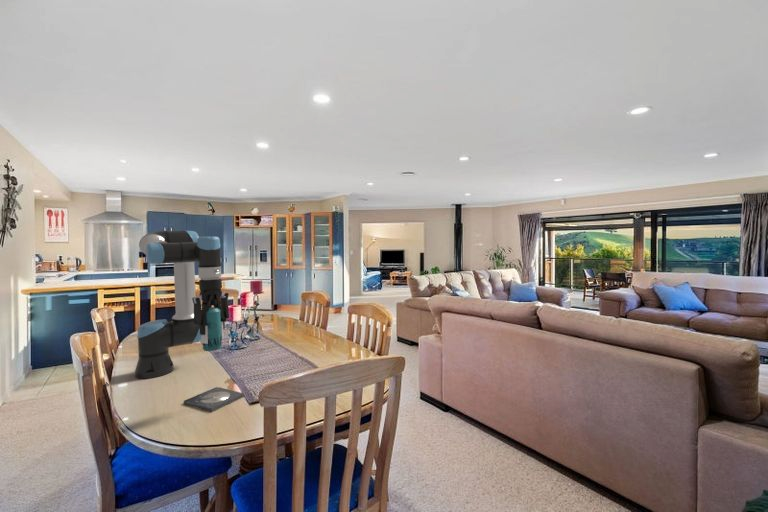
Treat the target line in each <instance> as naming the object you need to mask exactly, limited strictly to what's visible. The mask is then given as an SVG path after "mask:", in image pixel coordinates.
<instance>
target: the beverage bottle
mask: <svg viewBox="0 0 768 512" xmlns="http://www.w3.org/2000/svg"><path fill="white" fill-rule="evenodd" d="M205 305H207V304H205ZM214 305H217V300H216V299H212V300H211V306H210V307H209V310H208V311H207V313H206V314H207V321H206V325H205V326H207V328H208V334H207V335H208V336H207V338H208V344H205V343H202V342H201V344H202V350H203V351H205V352H214V351H219V350H221V348H222V343H223V342H222V340H223V339H221V337H222V336H221V329H222V328H221V316H220V312H221V311H220V309H218V308H216V307H214Z"/></svg>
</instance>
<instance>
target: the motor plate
mask: <svg viewBox="0 0 768 512" xmlns="http://www.w3.org/2000/svg"><path fill="white" fill-rule="evenodd" d="M244 397H245V393H243V392H240V391H236V390H232V389H228V388H224V387H218V386H216V387H214V388H211V389H209V390H206V391H204V392H201V393H200V394H196V395H194V396H192V397H190V398H187V399H185V400H183V404H184V405H187V406H190V407H193V408H196V409H200V410H204V411H208V412H211V413H212V412H216V411H217V410H220V409H222V408H223V407H225V406H228V405H230V404H232V403H234V402H236V401H238V400H241V399H242V398H244Z"/></svg>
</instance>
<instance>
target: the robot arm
mask: <svg viewBox="0 0 768 512" xmlns="http://www.w3.org/2000/svg"><path fill="white" fill-rule="evenodd" d="M138 245H139V246H138V247H139V250H140V251H141V253H143V254H144V255H145V258H146V262H147V264H150V265H161V264H163V265H164V264H173V274H174V275H173V277H174V301H175V302H174V305H175V306H174V307H175V314H174V315H172V317H171V319H172V320H171V321H168V320H167V319H165V318H164V319H155V320H152V321H148V322H145V323H143V324H141V325H139V326H138V328H137V336H136V338H137V349H138V351H137V352H138V361H137V363H136V366H135V370H134V377H135V378H137V379H153V378H159V377H161V376H165V375H168V374H170V373H172V372H173V371H174V369H175V368H174V367H175V366H174V365H175V364H174V362H173V360H172V358H171V355H170V353H169V352H170V351H169V348H173V347H179V346H184V345H185V346H186V345H192V344H196V343H200V341H201V344H202V343H205V344H208V338H207V336H208V335H207V334H208V328H207V326H205V325H206V321H207V314H206V313H207V311H208V310H209V308H211V307H212V305H211V300H212V299H216V300H217V305H213V307H216V308H218V309H220V311H221V312H220V316H221V328H222V329H221V336H222V337H221V339H222V340H224V339H225V338H224V337H225V335H224V333H225V332H224V330H225V328H226V326H225V325H226V324H225V322H227V319H229V318H230V309H229V301H228V300H229V292H223V291H222V288H223V284H222V283H223V282H222V281H223V279H221V278H222V260H221V247H222V246H221V239H220V237H219V236H199V234H198V233H197V232H196V231H194V230H186V229H185V230H156V231H153V232H149V233H146V234H145V235H143V236H142V237H141V238H140V241H139V243H138ZM195 263H197V264H198V265H197V267H198V278H199V281H198V289H199V291H200V292H199V295H198V296H196V276H195V275H196V274H195V272H196V271H195ZM205 304H207V305H205Z"/></svg>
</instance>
